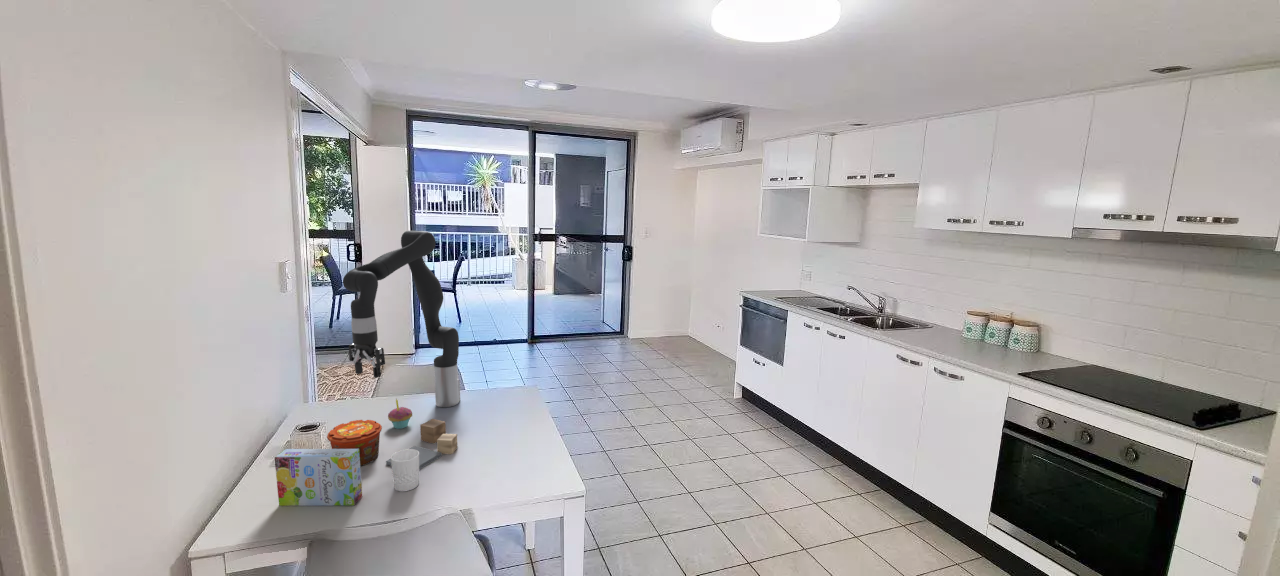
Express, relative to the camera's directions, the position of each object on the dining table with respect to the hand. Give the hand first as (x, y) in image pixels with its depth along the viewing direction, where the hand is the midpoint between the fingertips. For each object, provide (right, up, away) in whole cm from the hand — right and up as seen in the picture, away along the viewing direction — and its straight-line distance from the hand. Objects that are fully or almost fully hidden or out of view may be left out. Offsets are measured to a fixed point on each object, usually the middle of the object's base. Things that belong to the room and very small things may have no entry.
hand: (368, 375), depth 183 cm
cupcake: (+2, -23, +20) cm, 31 cm away
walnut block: (+18, -25, +10) cm, 33 cm away
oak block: (+27, -26, +2) cm, 38 cm away
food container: (-1, -27, -5) cm, 28 cm away
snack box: (+2, -31, -30) cm, 43 cm away
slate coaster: (+18, -27, -6) cm, 33 cm away
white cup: (+23, -30, -21) cm, 43 cm away
